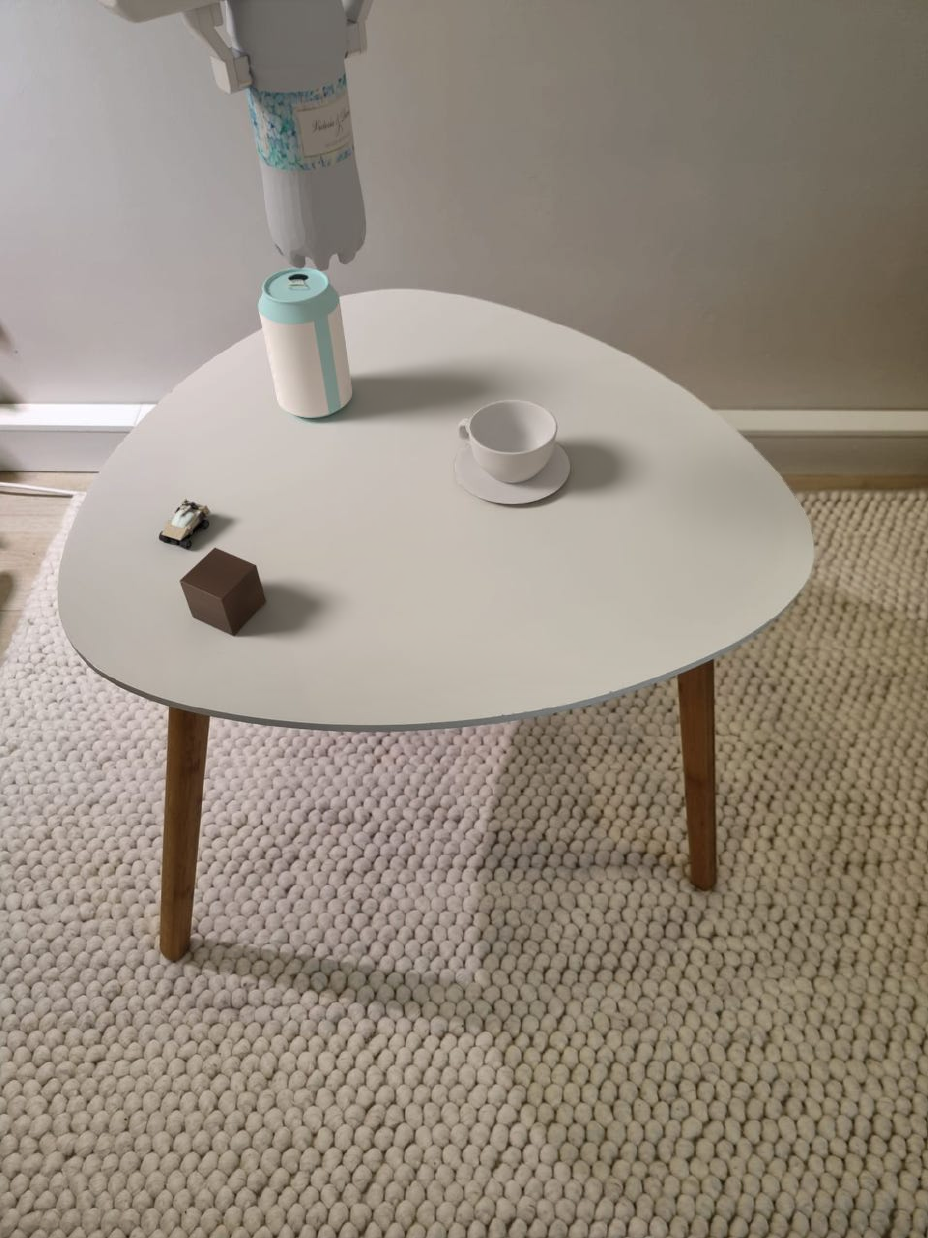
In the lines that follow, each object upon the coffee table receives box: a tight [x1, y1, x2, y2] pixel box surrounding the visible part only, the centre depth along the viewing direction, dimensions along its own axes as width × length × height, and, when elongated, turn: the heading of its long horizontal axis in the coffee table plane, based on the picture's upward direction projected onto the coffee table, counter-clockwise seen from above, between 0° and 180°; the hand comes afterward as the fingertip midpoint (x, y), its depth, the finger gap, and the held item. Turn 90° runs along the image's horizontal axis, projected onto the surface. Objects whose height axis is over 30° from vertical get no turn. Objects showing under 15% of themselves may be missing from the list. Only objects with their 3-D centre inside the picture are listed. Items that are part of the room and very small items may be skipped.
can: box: [257, 266, 353, 419], centre depth 86 cm, size 7×7×12 cm
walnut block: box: [179, 547, 267, 637], centre depth 71 cm, size 4×4×4 cm
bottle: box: [225, 0, 367, 272], centre depth 56 cm, size 7×7×20 cm
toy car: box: [158, 498, 211, 550], centre depth 78 cm, size 3×4×2 cm, turn 156°
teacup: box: [453, 399, 571, 505], centre depth 81 cm, size 10×10×5 cm
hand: (293, 71), depth 55 cm, fingers closed on bottle, 6 cm apart
